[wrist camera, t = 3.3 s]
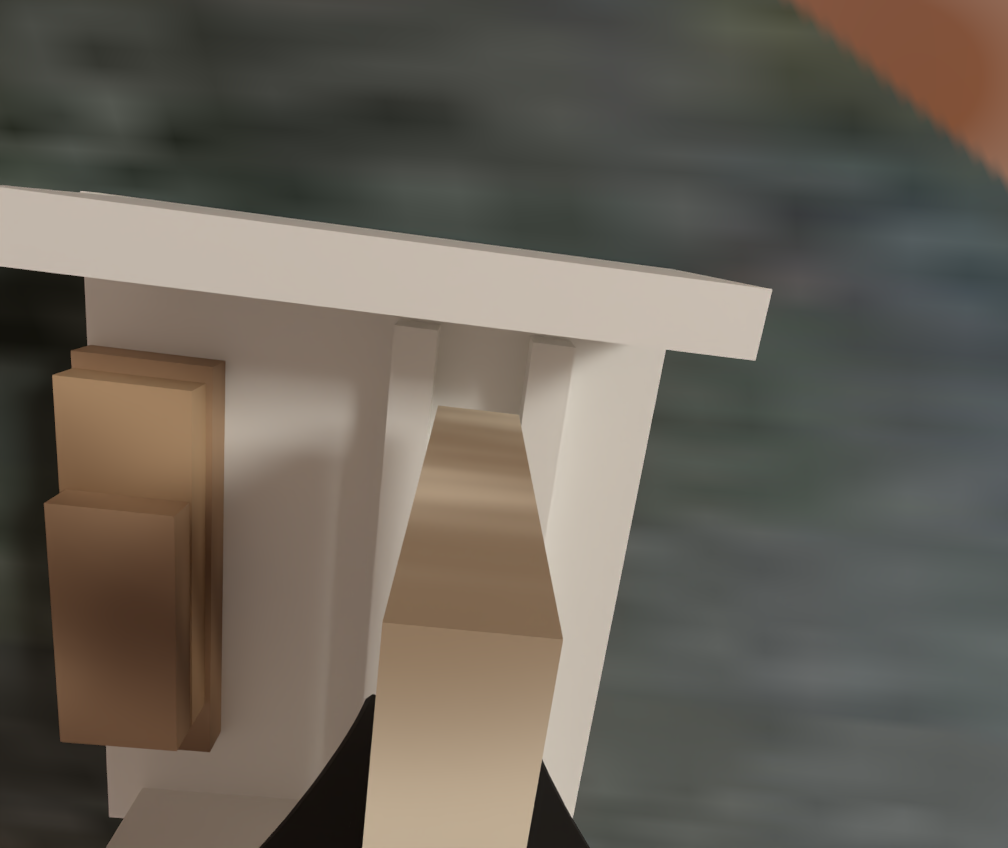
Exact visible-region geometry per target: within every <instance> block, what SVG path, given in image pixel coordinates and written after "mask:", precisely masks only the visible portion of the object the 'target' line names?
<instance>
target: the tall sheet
mask: <svg viewBox="0 0 1008 848" xmlns="http://www.w3.org/2000/svg"><path fill="white" fill-rule="evenodd" d="M562 644H563V636H562V631H561V626H560V621H559V616H558V611H557V605H556V600H555V595H554V590H553V585H552V580H551V575H550V570H549V565H548V560H547V555H546V550H545V545H544V540H543V535H542V529H541V524H540V519H539V514H538V509H537V504H536V499H535V494H534V489H533V484H532V479H531V474H530V469H529V464H528V459H527V454H526V448H525V443H524V438H523V433H522V428H521V423H520V418H519V415H516V414H508V413H499V412H491V411H482V410H473V409H465V408H456V407H448V406H439V405H438V408H437V412H436V416H435V420H434V423H433V427H432V431H431V435H430V439H429V443H428V447H427V451H426V455H425V458H424V462H423V466H422V470H421V474H420V478H419V482H418V486H417V490H416V493H415V497H414V501H413V505H412V509H411V513H410V517H409V521H408V525H407V528H406V532H405V536H404V540H403V544H402V548H401V552H400V556H399V560H398V563H397V567H396V571H395V575H394V579H393V583H392V587H391V591H390V595H389V598H388V602H387V606H386V610H385V614H384V618H383V622H382V632H381V643H380V654H379V665H378V677H377V688H376V699H375V710H374V722H373V733H372V744H371V755H370V767H369V778H368V789H367V800H366V812H365V823H364V834H363V845H362V848H527V842H528V837H529V831H530V825H531V820H532V814H533V808H534V802H535V797H536V791H537V785H538V780H539V774H540V768H541V763H542V757H543V751H544V746H545V740H546V734H547V729H548V723H549V717H550V712H551V706H552V700H553V695H554V689H555V683H556V678H557V672H558V666H559V661H560V655H561V649H562Z"/></svg>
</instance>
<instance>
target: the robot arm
mask: <svg viewBox="0 0 1008 848" xmlns="http://www.w3.org/2000/svg"><path fill="white" fill-rule="evenodd" d="M375 699H376V695H375V694H372V695H370V696H369V697H368V698H366V699H365V701H364V704H363V706H362V708H361V710H360V712H359V714H358V716H357V717H356V719H355V721H354V723H353V725H352V726H351V728H350V730H349V731H348V733H347V734H346V736H345V738H344V739H343V741H342V742H341V744H340V745H339V747H338V748H337V750H336V751H335V753H334V754H333V756H332V757H331V759H330V760H329V761H328V763H327V764H326V766H325V767H324V769H323V770H322V771H321V773H320V774H319V776H318V777H317V778H316V780H315V781H314V782H313V784H312V785H311V786H310V788H309V789H308V790H307V791H306V793H305V794H304V795H303V796H302V798H301V799H300V800H299V801H298V803H297V804H296V805H295V807H294V808H293V809H292V810H291V812H290V813H289V814H288V815H287V816H286V818H285V819H284V820H283V821H282V822H281V824H280V825H279V826H278V827H277V828H276V829H275V831H274V832H273V833H272V834H271V835H270V836H269V837H268V838H267V839H266V841H265V842H264V843H263V844H262V845H261V846H260V847H259V848H362V845H363V834H364V823H365V812H366V800H367V789H368V778H369V767H370V755H371V744H372V733H373V722H374V710H375ZM527 848H590V847H589V846H588V844H587V842H586V841H585V839H584V837H583V836H582V834H581V832H580V831H579V829H578V827H577V825H576V824H575V822H574V820H573V819H572V817H571V815H570V813H569V811H568V810H567V808H566V806H565V804H564V802H563V800H562V798H561V796H560V794H559V792H558V790H557V789H556V787H555V785H554V783H553V781H552V779H551V777H550V775H549V773H548V770H547V768H546V766H545V764H544V762H543V760H542V763H541V768H540V774H539V780H538V785H537V791H536V797H535V802H534V808H533V814H532V820H531V825H530V831H529V837H528V842H527Z"/></svg>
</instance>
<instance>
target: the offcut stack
mask: <svg viewBox="0 0 1008 848" xmlns="http://www.w3.org/2000/svg"><path fill="white" fill-rule="evenodd" d="M71 365H72V369H69V370H66V371H63V372H60V373H57V374H54V375H52V379H53V396H54V412H55V428H56V444H57V460H58V477H59V494H58V495H56V496H55V497H53V498H51V499H50V500H48V501H46V502H45V503H44V512H45V526H46V541H47V555H48V570H49V584H50V599H51V613H52V628H53V642H54V657H55V671H56V686H57V700H58V715H59V729H60V742H67V743H80V744H92V745H105V746H117V747H129V748H142V749H154V750H167V751H177V750H187V751H199V752H210V751H211V749H212V748H213V746H214V744H215V742H216V740H217V738H218V736H219V734H220V732H221V683H222V603H223V522H224V442H225V361H223V360H214V359H206V358H198V357H189V356H181V355H172V354H164V353H155V352H147V351H138V350H130V349H122V348H113V347H105V346H96V345H88V346H85V347H81V348H78V349H74V350H71Z"/></svg>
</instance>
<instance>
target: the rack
mask: <svg viewBox="0 0 1008 848" xmlns="http://www.w3.org/2000/svg"><path fill="white" fill-rule="evenodd" d="M0 266H2V267H10V268H18V269H26V270H34V271H42V272H50V273H58V274H66V275H74V276H82V277H84V282H85V303H86V325H87V346H88V345H96V346H105V347H113V348H122V349H130V350H138V351H147V352H155V353H164V354H172V355H181V356H189V357H198V358H206V359H214V360H223V361H225V442H224V522H223V603H222V683H221V732H220V734H219V736H218V738H217V740H216V742H215V744H214V746H213V748H212V749H211V751H210V752H199V751H187V750H177V751H167V750H154V749H142V748H129V747H117V746H106V760H107V781H108V803H109V817H113V818H124V819H123V820H122V822H121V824H120V825H119V827H118V828H117V830H116V832H115V833H114V835H113V837H112V838H111V840H110V842H109V843H108V845H107V846H106V848H259V847H260V846H261V845H262V844H263V843H264V842H265V841H266V839H267V838H268V837H269V836H270V835H271V834H272V833H273V832H274V831H275V829H276V828H277V827H278V826H279V825H280V824H281V822H282V821H283V820H284V819H285V818H286V816H287V815H288V814H289V813H290V812H291V810H292V809H293V808H294V807H295V805H296V804H297V803H298V801H299V800H300V799H301V798H302V796H303V795H304V794H305V793H306V791H307V790H308V789H309V788H310V786H311V785H312V784H313V782H314V781H315V780H316V778H317V777H318V776H319V774H320V773H321V771H322V770H323V769H324V767H325V766H326V764H327V763H328V761H329V760H330V759H331V757H332V756H333V754H334V753H335V751H336V750H337V748H338V747H339V745H340V744H341V742H342V741H343V739H344V738H345V736H346V734H347V733H348V731H349V730H350V728H351V726H352V725H353V723H354V721H355V719H356V717H357V716H358V714H359V712H360V710H361V708H362V706H363V704H364V701H365V699H366V698H368V697H369V696H370V695H372V694H375V695H376V688H377V677H378V665H379V654H380V643H381V632H382V622H383V618H384V614H385V610H386V606H387V602H388V598H389V595H390V591H391V587H392V583H393V579H394V575H395V571H396V567H397V563H398V560H399V556H400V552H401V548H402V544H403V540H404V536H405V532H406V528H407V525H408V521H409V517H410V513H411V509H412V505H413V501H414V497H415V493H416V490H417V486H418V482H419V478H420V474H421V470H422V466H423V462H424V458H425V455H426V451H427V447H428V443H429V439H430V435H431V431H432V427H433V423H434V420H435V416H436V412H437V408H438V405H439V406H448V407H456V408H465V409H473V410H482V411H491V412H499V413H508V414H516V415H519V418H520V423H521V428H522V433H523V438H524V443H525V448H526V454H527V459H528V464H529V469H530V474H531V479H532V484H533V489H534V494H535V499H536V504H537V509H538V514H539V519H540V524H541V529H542V535H543V540H544V545H545V550H546V555H547V560H548V565H549V570H550V575H551V580H552V585H553V590H554V595H555V600H556V605H557V611H558V616H559V621H560V626H561V631H562V636H563V644H562V649H561V655H560V661H559V666H558V672H557V678H556V683H555V689H554V695H553V700H552V706H551V712H550V717H549V723H548V729H547V734H546V740H545V746H544V751H543V757H542V760H543V762H544V764H545V766H546V768H547V770H548V773H549V775H550V777H551V779H552V781H553V783H554V785H555V787H556V789H557V790H558V792H559V794H560V796H561V798H562V800H563V802H564V804H565V806H566V808H567V810H568V811H569V813H570V815H571V817H572V819H573V814H574V809H575V804H576V799H577V794H578V789H579V784H580V779H581V774H582V769H583V764H584V759H585V754H586V749H587V744H588V738H589V733H590V728H591V723H592V718H593V713H594V708H595V703H596V698H597V693H598V688H599V683H600V678H601V673H602V668H603V663H604V658H605V653H606V648H607V643H608V638H609V633H610V628H611V623H612V618H613V613H614V608H615V603H616V598H617V593H618V588H619V583H620V578H621V573H622V567H623V562H624V557H625V552H626V547H627V542H628V537H629V532H630V527H631V522H632V517H633V512H634V507H635V502H636V497H637V492H638V487H639V482H640V477H641V472H642V467H643V462H644V457H645V452H646V447H647V442H648V437H649V432H650V427H651V422H652V417H653V412H654V407H655V402H656V397H657V391H658V386H659V381H660V376H661V371H662V366H663V361H664V356H665V351H666V350H674V351H682V352H690V353H698V354H706V355H714V356H722V357H730V358H738V359H746V360H754V361H755V360H756V356H757V352H758V348H759V344H760V339H761V335H762V331H763V327H764V323H765V318H766V314H767V310H768V306H769V301H770V297H771V293H772V289H768V288H763V287H758V286H753V285H748V284H743V283H738V282H733V281H728V280H723V279H719V278H714V277H709V276H704V275H699V274H694V273H689V272H684V271H679V270H674V269H668V268H660V267H653V266H645V265H638V264H630V263H623V262H615V261H608V260H600V259H593V258H585V257H578V256H570V255H563V254H555V253H548V252H540V251H533V250H525V249H518V248H510V247H503V246H495V245H488V244H480V243H473V242H465V241H458V240H450V239H443V238H435V237H427V236H420V235H412V234H405V233H397V232H390V231H382V230H375V229H367V228H360V227H352V226H345V225H337V224H330V223H322V222H315V221H307V220H300V219H292V218H285V217H277V216H270V215H262V214H255V213H247V212H240V211H232V210H225V209H217V208H210V207H202V206H195V205H187V204H180V203H172V202H165V201H157V200H150V199H142V198H135V197H127V196H120V195H112V194H105V193H96V192H86V191H80V193H78V192H68V191H57V190H47V189H36V188H25V187H15V186H4V185H0Z"/></svg>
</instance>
